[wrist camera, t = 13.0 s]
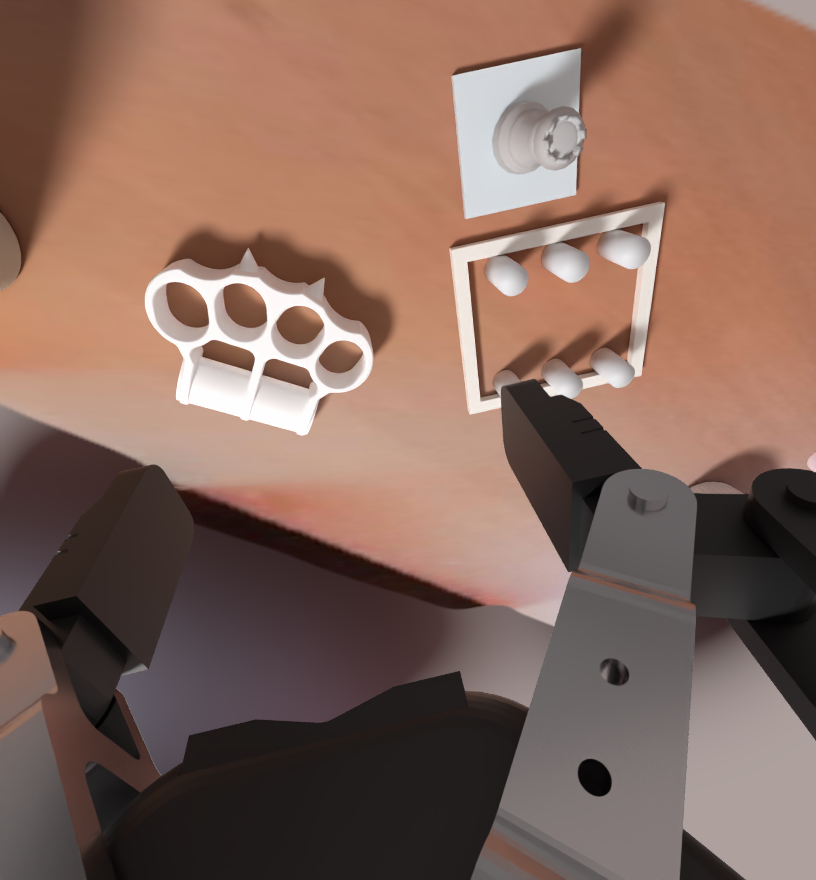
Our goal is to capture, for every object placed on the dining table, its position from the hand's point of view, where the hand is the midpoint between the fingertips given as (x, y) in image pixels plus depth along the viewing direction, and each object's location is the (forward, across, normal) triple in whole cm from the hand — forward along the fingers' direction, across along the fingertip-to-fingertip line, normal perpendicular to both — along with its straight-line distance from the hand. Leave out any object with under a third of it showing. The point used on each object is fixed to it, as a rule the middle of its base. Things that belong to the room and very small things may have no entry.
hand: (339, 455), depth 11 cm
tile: (+30, -15, -4) cm, 34 cm away
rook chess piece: (+30, -15, -4) cm, 34 cm away
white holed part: (+31, +8, +7) cm, 33 cm away
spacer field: (+30, -18, +11) cm, 37 cm away
